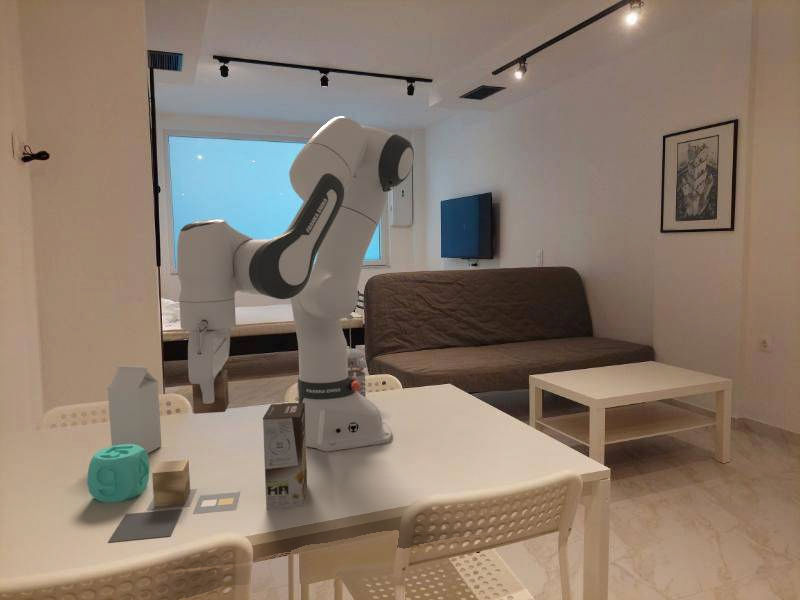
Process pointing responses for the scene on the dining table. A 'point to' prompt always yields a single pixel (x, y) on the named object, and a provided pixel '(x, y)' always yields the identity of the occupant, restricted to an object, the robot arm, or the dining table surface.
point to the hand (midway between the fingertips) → (212, 397)
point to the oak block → (171, 483)
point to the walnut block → (220, 396)
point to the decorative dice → (118, 473)
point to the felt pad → (146, 525)
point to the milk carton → (134, 408)
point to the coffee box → (285, 455)
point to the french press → (358, 369)
